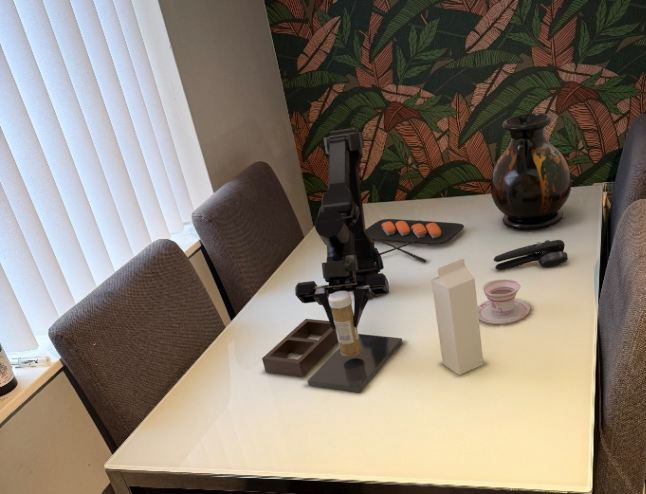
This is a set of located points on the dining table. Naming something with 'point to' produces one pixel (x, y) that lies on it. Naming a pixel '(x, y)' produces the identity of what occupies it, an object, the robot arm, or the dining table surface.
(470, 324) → the milk
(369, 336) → the slate board
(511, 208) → the dark ceramic vase
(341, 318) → the sprinkles bottle
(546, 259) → the can opener
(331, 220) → the robot arm
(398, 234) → the sushi plate
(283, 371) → the spice rack
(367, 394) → the dining table surface
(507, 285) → the teacup
